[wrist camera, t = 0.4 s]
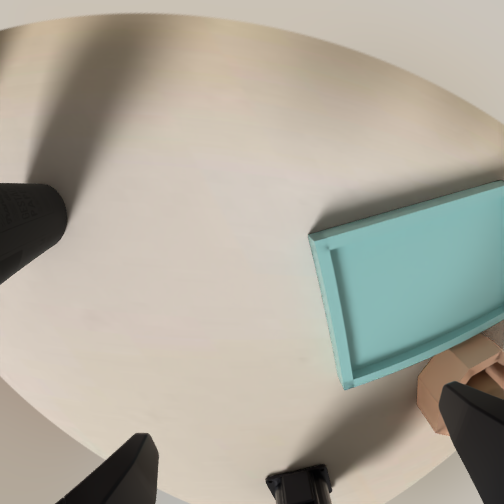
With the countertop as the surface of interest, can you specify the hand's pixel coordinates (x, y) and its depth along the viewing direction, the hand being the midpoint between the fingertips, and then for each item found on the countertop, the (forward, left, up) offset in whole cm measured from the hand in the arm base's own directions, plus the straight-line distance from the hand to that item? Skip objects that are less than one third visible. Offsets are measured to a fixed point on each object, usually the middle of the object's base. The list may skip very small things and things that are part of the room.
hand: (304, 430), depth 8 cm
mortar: (-16, -15, -14) cm, 26 cm away
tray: (-4, -12, -14) cm, 19 cm away
